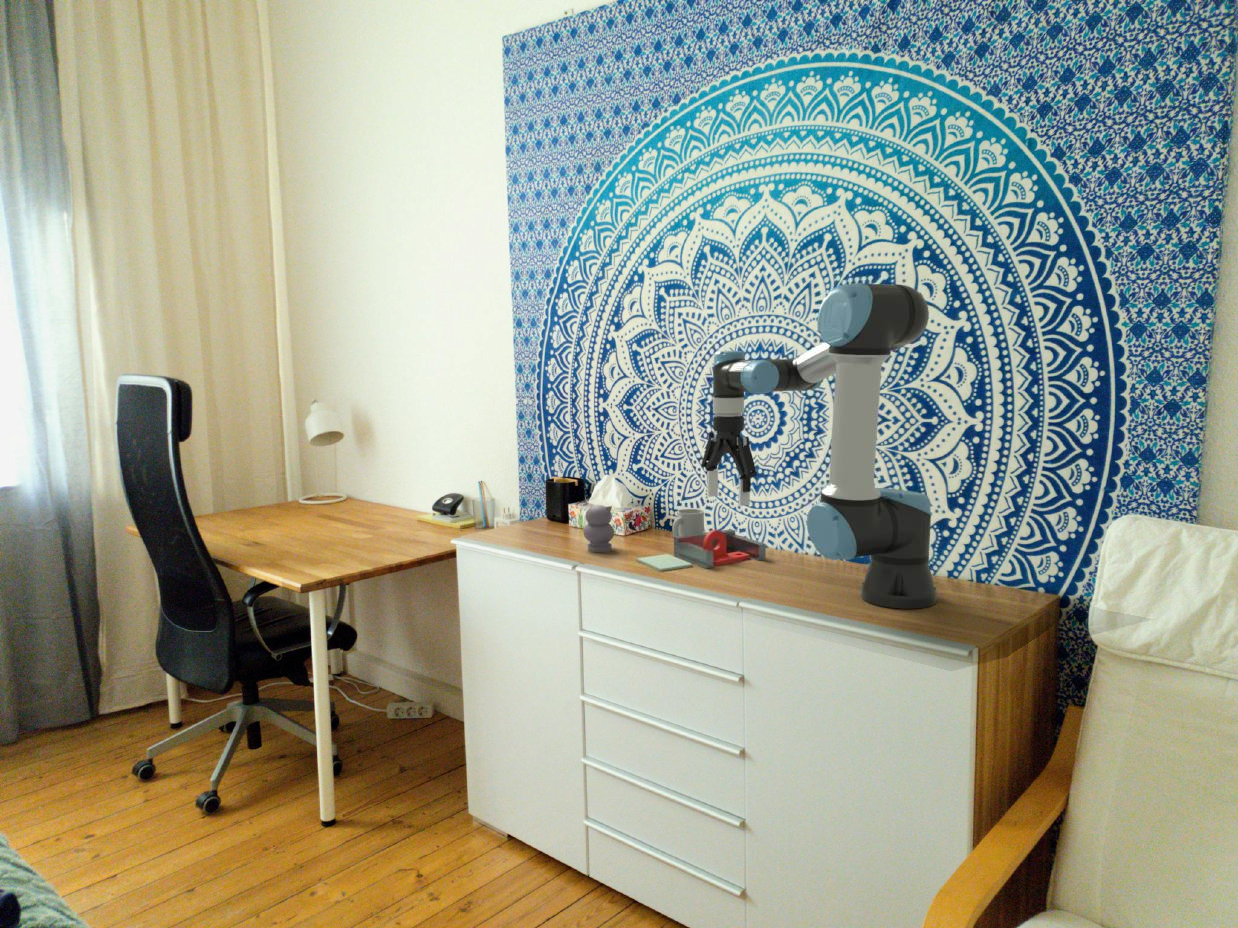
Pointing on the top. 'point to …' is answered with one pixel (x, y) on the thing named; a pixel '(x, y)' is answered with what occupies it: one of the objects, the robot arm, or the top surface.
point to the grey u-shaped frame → (696, 554)
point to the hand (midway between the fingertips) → (727, 500)
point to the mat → (664, 562)
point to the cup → (688, 522)
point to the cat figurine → (599, 528)
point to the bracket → (721, 549)
